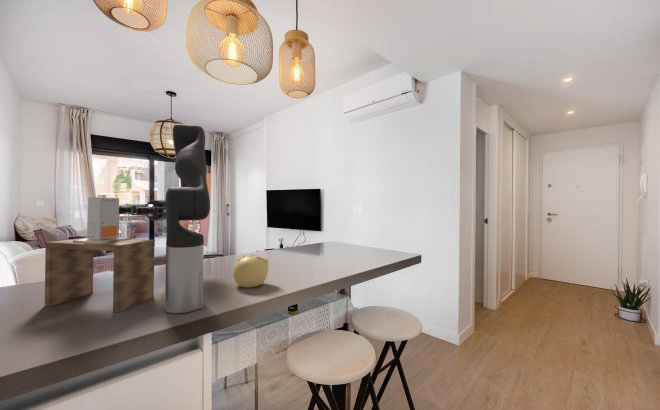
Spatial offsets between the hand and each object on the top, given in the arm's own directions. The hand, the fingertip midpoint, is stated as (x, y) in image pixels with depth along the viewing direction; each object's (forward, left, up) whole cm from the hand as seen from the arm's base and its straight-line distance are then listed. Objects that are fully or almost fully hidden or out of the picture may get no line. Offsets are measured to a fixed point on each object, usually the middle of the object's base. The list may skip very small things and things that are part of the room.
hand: (125, 211), depth 87 cm
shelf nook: (+4, +6, -26) cm, 27 cm away
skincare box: (+4, +6, -8) cm, 11 cm away
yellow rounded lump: (-38, +5, -26) cm, 47 cm away
